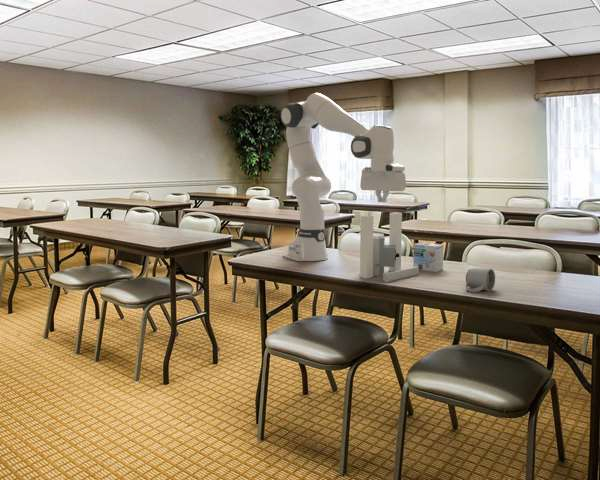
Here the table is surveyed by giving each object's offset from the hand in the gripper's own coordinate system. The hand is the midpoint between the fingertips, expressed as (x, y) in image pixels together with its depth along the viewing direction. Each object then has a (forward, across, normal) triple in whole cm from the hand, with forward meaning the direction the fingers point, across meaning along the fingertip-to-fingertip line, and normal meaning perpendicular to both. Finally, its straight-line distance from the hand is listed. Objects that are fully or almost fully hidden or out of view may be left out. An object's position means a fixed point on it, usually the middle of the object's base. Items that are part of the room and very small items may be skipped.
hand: (382, 202), depth 210 cm
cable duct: (+29, +10, 0) cm, 30 cm away
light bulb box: (+29, +8, +21) cm, 37 cm away
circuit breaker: (+29, 0, 0) cm, 29 cm away
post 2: (+29, 0, +9) cm, 30 cm away
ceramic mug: (+30, +41, +3) cm, 50 cm away
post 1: (+29, 0, -9) cm, 30 cm away
